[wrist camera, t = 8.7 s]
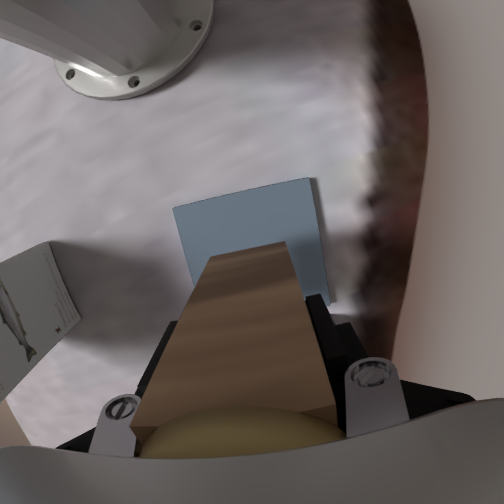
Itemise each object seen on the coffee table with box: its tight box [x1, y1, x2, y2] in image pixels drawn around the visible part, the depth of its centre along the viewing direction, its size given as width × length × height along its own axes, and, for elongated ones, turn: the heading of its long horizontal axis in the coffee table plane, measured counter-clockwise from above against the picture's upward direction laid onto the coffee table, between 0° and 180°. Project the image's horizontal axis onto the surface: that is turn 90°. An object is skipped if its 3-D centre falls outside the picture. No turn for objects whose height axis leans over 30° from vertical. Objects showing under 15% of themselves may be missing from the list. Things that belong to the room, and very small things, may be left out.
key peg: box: [129, 241, 347, 458], centre depth 11 cm, size 5×5×13 cm
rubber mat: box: [173, 177, 330, 306], centre depth 21 cm, size 9×9×1 cm
